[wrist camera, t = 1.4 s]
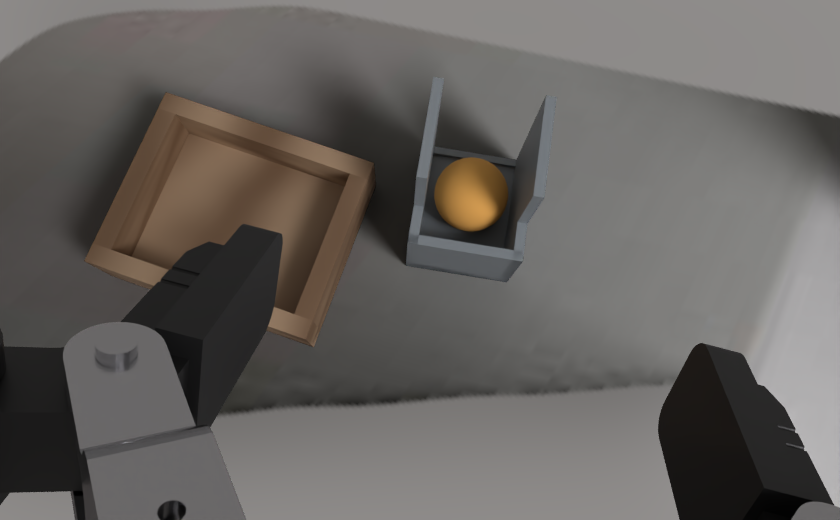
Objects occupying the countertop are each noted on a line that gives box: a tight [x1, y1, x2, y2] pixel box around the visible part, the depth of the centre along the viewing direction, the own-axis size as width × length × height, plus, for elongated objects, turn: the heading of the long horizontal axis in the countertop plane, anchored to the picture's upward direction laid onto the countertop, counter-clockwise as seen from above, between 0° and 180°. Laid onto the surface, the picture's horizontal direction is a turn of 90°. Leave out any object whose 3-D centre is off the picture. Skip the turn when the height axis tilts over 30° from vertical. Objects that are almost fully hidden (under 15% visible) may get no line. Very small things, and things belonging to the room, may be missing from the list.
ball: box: [434, 157, 508, 232], centre depth 37 cm, size 4×4×4 cm
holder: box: [406, 77, 557, 282], centre depth 35 cm, size 7×6×9 cm
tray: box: [84, 92, 376, 347], centre depth 37 cm, size 12×10×4 cm
